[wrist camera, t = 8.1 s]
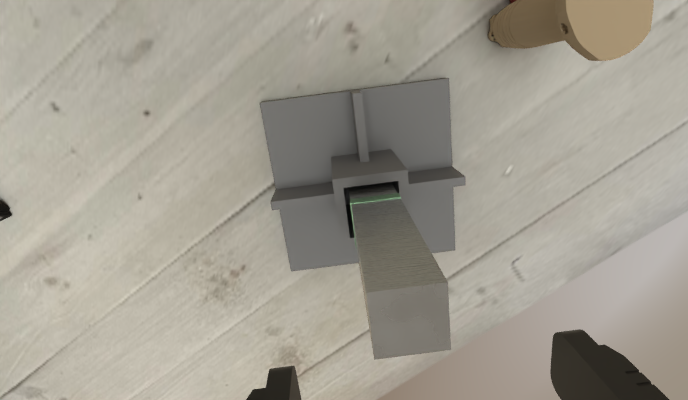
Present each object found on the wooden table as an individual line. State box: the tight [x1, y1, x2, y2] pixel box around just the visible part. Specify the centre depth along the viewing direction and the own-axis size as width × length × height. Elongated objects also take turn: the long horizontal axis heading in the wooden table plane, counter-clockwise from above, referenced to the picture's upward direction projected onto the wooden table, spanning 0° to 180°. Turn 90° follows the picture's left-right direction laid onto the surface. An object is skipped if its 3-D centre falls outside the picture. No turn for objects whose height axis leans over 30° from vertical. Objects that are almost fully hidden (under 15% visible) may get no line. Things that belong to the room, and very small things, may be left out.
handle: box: [488, 0, 653, 61], centre depth 30 cm, size 5×6×15 cm
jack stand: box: [260, 78, 465, 271], centre depth 36 cm, size 18×18×12 cm
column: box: [348, 182, 451, 360], centre depth 26 cm, size 4×4×17 cm
